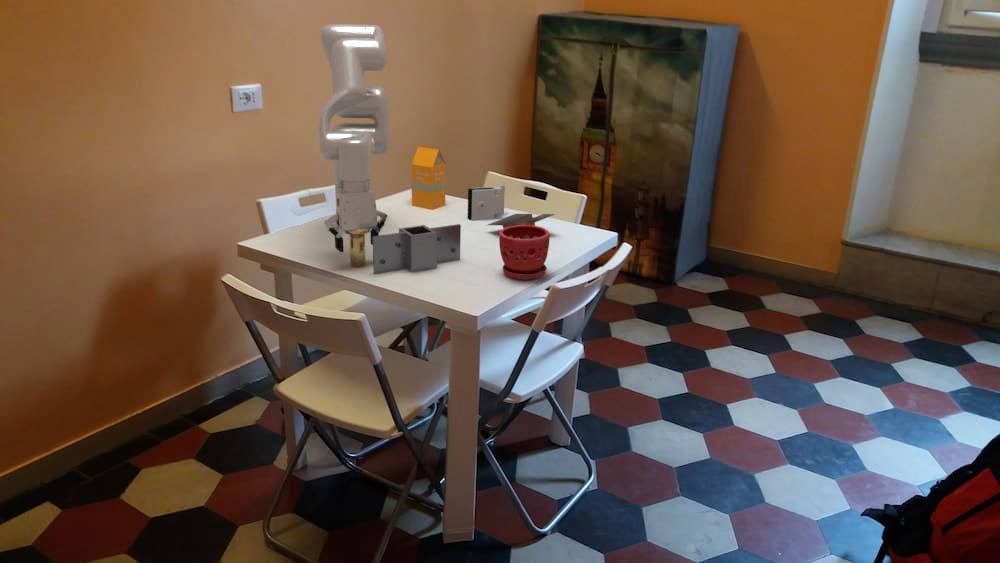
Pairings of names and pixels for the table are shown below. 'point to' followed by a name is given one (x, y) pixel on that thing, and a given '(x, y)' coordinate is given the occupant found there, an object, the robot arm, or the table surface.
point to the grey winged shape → (520, 220)
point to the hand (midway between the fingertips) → (357, 248)
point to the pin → (357, 247)
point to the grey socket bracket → (416, 248)
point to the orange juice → (428, 178)
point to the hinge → (486, 203)
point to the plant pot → (524, 251)
